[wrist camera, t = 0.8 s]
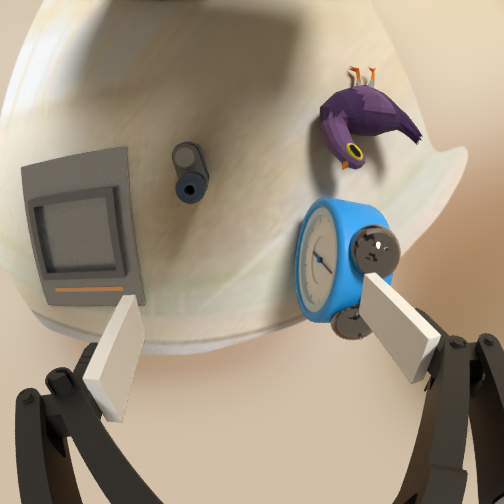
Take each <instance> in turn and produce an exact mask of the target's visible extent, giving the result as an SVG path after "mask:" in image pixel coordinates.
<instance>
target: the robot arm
mask: <svg viewBox="0 0 504 504" xmlns="http://www.w3.org/2000/svg"><path fill="white" fill-rule="evenodd" d="M359 314H360V316H361V317H362V318H363V320H364V321H365V322H366V323H367V325H368V326H369V327H370V329H371V330H372V331H373V333H374V334H375V335H376V337H377V338H378V339H379V341H380V342H381V343H382V345H383V346H384V347H385V349H386V350H387V351H388V353H389V354H390V355H391V357H392V358H393V359H394V361H395V362H396V364H397V365H398V366H399V368H400V369H401V371H402V372H403V373H404V374H405V376H406V378H407V379H408V380H409V382H410V383H411V384H413V383H416V382H418V381H421V380H423V379H424V377H425V374H426V372H427V371H428V372H429V373H430V375H431V376H430V379H429V381H428V383H427V385H426V387H425V389H424V391H426V390H427V393H426V399H425V404H424V409H423V413H422V418H421V422H420V427H419V431H418V435H417V438H416V442H415V446H414V449H413V453H412V456H411V459H410V463H409V466H408V469H407V473H406V475H405V478H404V481H403V484H402V487H401V489H400V492H399V494H398V496H397V497H396V499H395V500H394V502H393V503H392V504H462V501H463V496H464V492H465V487H466V482H467V474H468V473H467V471H466V470H463V469H462V465H463V459H464V452H465V445H466V437H467V427H468V415H469V418H470V424H471V429H472V436H473V443H474V451H475V459H476V469H477V484H478V499H479V504H504V351H503V349H502V347H501V345H500V343H499V341H498V339H497V338H496V337H494V336H493V335H491V334H487V333H484V334H481V335H480V336H479V339H478V341H477V342H474V343H467V341H466V340H464V339H463V338H462V337H459V336H453V335H452V336H449V335H448V334H447V333H446V332H445V331H444V330H443V329H441V327H440V326H439V325H438V324H437V323H435V322H434V321H433V320H432V319H430V317H429V316H428V315H427V314H426V313H425V312H423V311H422V310H419V309H417V308H415V309H414V308H413V307H411V305H410V304H409V303H407V302H406V301H405V300H404V299H403V298H402V297H401V296H400V295H399V294H398V293H397V292H396V291H395V290H394V289H393V288H392V287H390V286H389V285H388V284H387V283H386V282H385V281H384V280H383V279H382V278H381V277H380V276H378V275H377V274H376V273H369V274H364V281H363V288H362V295H361V302H360V308H359ZM145 336H146V333H145V330H144V326H143V322H142V319H141V315H140V311H139V307H138V303H137V299H136V295H123V296H122V298H121V300H120V302H119V304H118V305H117V307H116V309H115V311H114V313H113V315H112V317H111V319H110V321H109V323H108V325H107V327H106V329H105V331H104V333H103V335H102V337H101V339H100V341H99V343H90V344H89V345H88V346H87V347H86V348H85V349H84V351H83V353H82V355H81V358H80V359H79V361H78V363H77V365H76V367H75V369H74V371H73V373H72V371H71V370H70V369H68V368H65V367H60V368H56V369H54V370H52V371H51V372H50V373H49V374H48V375H47V376H46V379H45V384H46V385H47V387H48V389H49V390H50V392H51V394H49V395H42V396H41V395H40V394H39V392H38V391H37V390H36V389H34V388H27V389H24V390H23V391H21V392H20V393H19V395H18V396H17V399H16V411H15V412H16V413H15V444H16V445H15V446H16V463H17V474H18V483H19V491H20V497H21V503H22V504H83V503H82V500H81V497H80V493H79V490H78V487H77V483H76V479H75V475H74V471H73V467H72V462H71V458H70V453H69V448H68V443H67V437H68V436H71V437H72V439H73V441H74V443H75V445H76V447H77V449H78V451H79V453H80V454H81V456H82V458H83V460H84V462H85V463H86V465H87V467H88V469H89V470H90V472H91V473H92V475H93V477H94V479H95V480H96V482H97V483H98V485H99V487H100V488H101V490H102V491H103V493H104V494H105V496H106V497H107V498H108V500H109V502H110V503H111V504H164V503H163V502H162V501H161V500H160V499H159V498H158V497H157V496H156V495H155V494H154V492H153V491H152V490H151V489H150V488H149V487H148V486H147V484H146V483H145V482H144V481H143V479H142V478H141V477H140V476H139V475H138V473H137V472H136V471H135V470H134V468H133V467H132V466H131V464H130V463H129V462H128V460H127V459H126V458H125V456H124V455H123V454H122V452H121V451H120V449H119V448H118V447H117V445H116V444H115V442H114V441H113V439H112V438H111V436H110V435H109V433H108V432H107V430H106V429H105V427H104V426H103V424H102V423H101V421H100V419H101V416H102V414H103V416H104V417H105V419H106V420H107V421H110V422H121V423H122V422H123V418H124V413H125V410H126V406H127V401H128V397H129V393H130V390H131V386H132V382H133V378H134V374H135V371H136V367H137V364H138V360H139V356H140V353H141V350H142V346H143V343H144V339H145ZM484 375H485V376H484Z"/></svg>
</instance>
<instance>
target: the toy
mask: <svg viewBox="0 0 504 504" xmlns="http://www.w3.org/2000/svg"><path fill="white" fill-rule="evenodd" d="M349 67H350V66H349ZM350 68H352V69H350V70H352V71H355V72H356V75H357V83H356V86H355V87H351V88H348V89H345V90H342V91H339V92H336V93H335V94H333V95H332V96H331V97H330V98H329V99H328V100H327V101H326V102H325V103H324V104H323V105H322V106H321V107H320V129H321V132H322V134H323V136H324V139H325V141H326V144H327V146H328V149H329V150H330V151H331V152H332V153H333V154H334V155H335V156H336V158H337V159H338V160H339V161H340V162H341V163H342V170H343V169H345V168H347V167H349V168H352V169H358V168H361V167H362V166H363V165H364V164H365V155H364V154H363V153H362V151H361V150H360V149H359V148H358V147H357V146H356V145H355V143H354V142H353V140H352V137H351V135H350V133H351V134H355V135H360V136H377V135H379V134H382V133H385V132H389V131H394V130H399V131H401V132H402V133H404V134H405V135H407V136H408V137H409V138H410V139H411V140H413V141H414V142H415V143H416V144H417V143H418V141H419V140H421V138H420V137H421V136H422V134H421V133H420V131H419V130H418V128H417V127H416V126H415V124H414V123H413V122H412V120H411V119H410V118H409V116H408V115H407V114H406V113H405V112H403V111H402V110H401V109H400V108H399V107H398V106H397V105H396V104H395V103H394V102H393V101H392V100H391V99H390V98H389V97H388V96H387V95H385V94H384V93H383V92H380V91H378V90H376V89H374V70H375V68H374V69H372V68H370V67H369V70H371V71H372V77H371V80H370V82H369V84H368V86H367V85H362V86H361V81H360V72H359V68H354V67H350ZM419 136H420V137H419ZM422 137H423V136H422ZM421 141H422V140H421ZM418 144H419V143H418Z"/></svg>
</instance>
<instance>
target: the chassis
mask: <svg viewBox="0 0 504 504" xmlns="http://www.w3.org/2000/svg"><path fill="white" fill-rule="evenodd" d="M21 174H22V185H23V194H24V202H25V209H26V216H27V222H28V228H29V233H30V238H31V243H32V248H33V252H34V257H35V261H36V265H37V269H38V273H39V277H40V280H41V284H42V287H43V291H44V294H45V297H46V300H47V303H48V305H118V304H119V302H120V300H121V298H122V296H123V295H136V299H137V303H138V305H145V302H146V301H145V296H144V291H143V285H142V279H141V274H140V268H139V261H138V255H137V248H136V241H135V233H134V225H133V217H132V207H131V197H130V185H129V171H128V154H127V147H118V148H112V149H105V150H99V151H93V152H88V153H82V154H77V155H72V156H67V157H62V158H58V159H53V160H49V161H44V162H40V163H36V164H32V165H28V166H25V167H21Z"/></svg>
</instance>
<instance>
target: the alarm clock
mask: <svg viewBox="0 0 504 504" xmlns="http://www.w3.org/2000/svg"><path fill="white" fill-rule="evenodd" d="M400 254H401V251H400V245H399V242H398V239H397V238H396V236H395V234H394V233H393V232H392V231H391V230H390V228H389V226H388V223H387V221H386V220H385V218H384V216H383V215H382V214H381V212H380V211H379V210H377V209H376V208H375V207H373V206H370V205H366V204H361V203H356V202H350V201H345V200H339V199H333V198H321V199H319V200H317V201H316V202H314V203H313V205H312V206H311V207H310V209H309V210H308V212H307V214H306V216H305V218H304V221H303V223H302V227H301V230H300V234H299V238H298V243H297V250H296V259H295V286H296V294H297V299H298V303H299V306H300V308H301V310H302V312H303V314H304V316H305V317H306V318H307V319H309V320H310V321H312V322H316V323H331V327H332V330H333V331H334V332H335V334H336V335H338V336H339V337H341V338H343V339H346V340H358V339H359V340H360V339H362V338H364V337H366V336H368V335H370V334H371V333H372V332H373V331H372V330H371V329H370V327H369V326H368V325H367V323H366V322H365V321H364V320H363V318H362V317H361V316H360V314H359V308H360V302H361V295H362V288H363V281H364V274H369V273H376V274H377V275H378V276H380V277H381V278H382V279H383V280H384V281H385V282H386V283H387V284H388V285H389V286H390V284H391V280H392V276H393V272H394V271H395V270H396V268H397V266H398V264H399V261H400Z"/></svg>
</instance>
